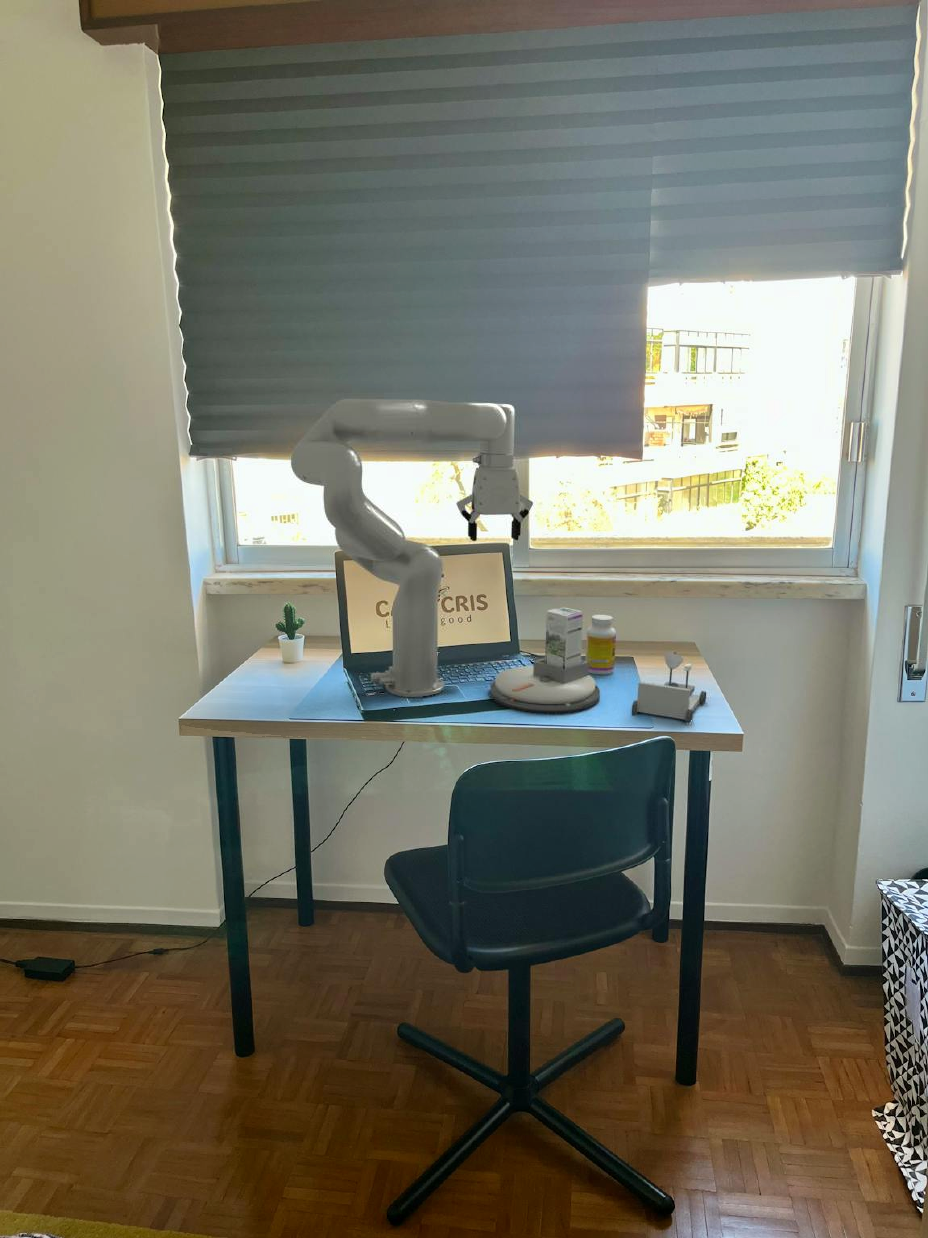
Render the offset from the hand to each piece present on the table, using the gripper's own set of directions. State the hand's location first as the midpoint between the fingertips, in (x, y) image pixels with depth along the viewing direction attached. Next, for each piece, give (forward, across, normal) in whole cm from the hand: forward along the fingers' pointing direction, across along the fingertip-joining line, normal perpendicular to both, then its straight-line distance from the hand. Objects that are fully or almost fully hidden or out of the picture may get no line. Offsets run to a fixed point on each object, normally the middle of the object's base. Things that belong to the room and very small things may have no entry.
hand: (494, 539), depth 201 cm
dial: (+28, +6, -20) cm, 35 cm away
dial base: (+30, +6, -20) cm, 37 cm away
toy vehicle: (+31, +29, -32) cm, 53 cm away
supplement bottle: (+30, +24, -7) cm, 39 cm away
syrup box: (+27, +10, -18) cm, 34 cm away
